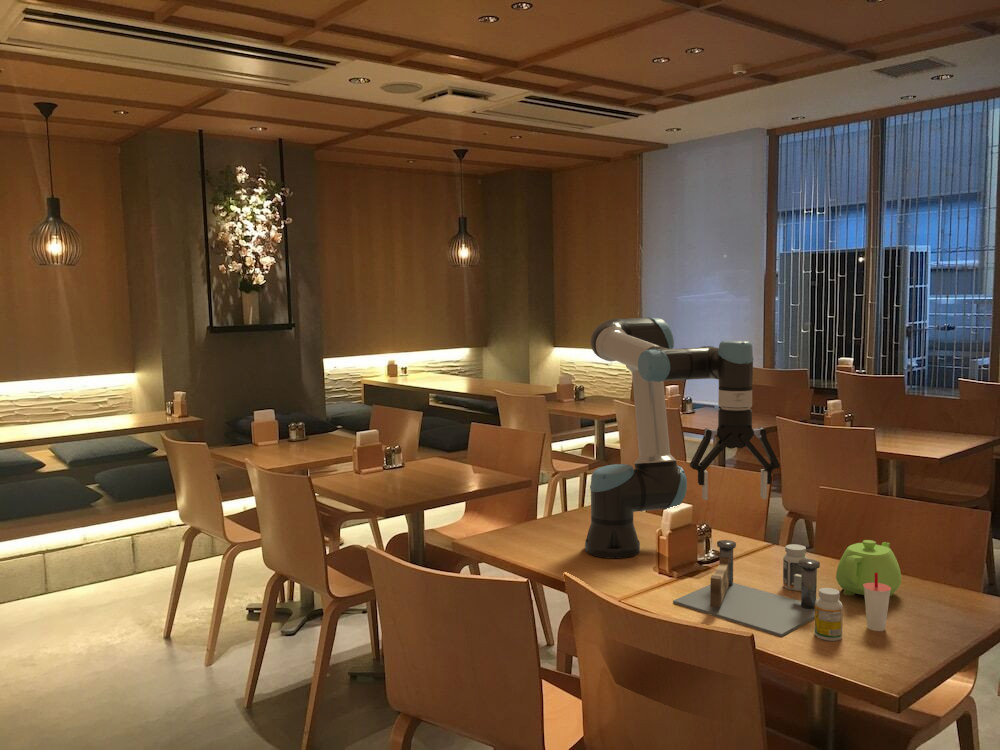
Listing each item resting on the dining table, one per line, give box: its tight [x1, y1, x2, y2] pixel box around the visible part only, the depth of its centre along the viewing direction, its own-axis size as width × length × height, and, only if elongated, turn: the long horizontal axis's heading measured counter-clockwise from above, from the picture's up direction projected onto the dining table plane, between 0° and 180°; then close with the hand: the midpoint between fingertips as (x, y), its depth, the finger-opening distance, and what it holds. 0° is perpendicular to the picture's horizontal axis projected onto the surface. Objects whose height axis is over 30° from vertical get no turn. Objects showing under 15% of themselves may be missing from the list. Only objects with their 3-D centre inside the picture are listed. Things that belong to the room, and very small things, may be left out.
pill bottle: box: [782, 543, 809, 592], centre depth 200 cm, size 6×6×10 cm
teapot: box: [835, 539, 902, 597], centre depth 195 cm, size 20×13×13 cm
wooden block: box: [709, 556, 729, 608], centre depth 192 cm, size 16×2×6 cm, turn 157°
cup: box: [863, 573, 891, 632], centre depth 175 cm, size 5×5×12 cm
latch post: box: [794, 558, 821, 609], centre depth 187 cm, size 6×5×11 cm
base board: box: [672, 582, 815, 638], centre depth 189 cm, size 27×20×1 cm
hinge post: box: [716, 539, 737, 586], centre depth 202 cm, size 4×4×11 cm
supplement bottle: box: [814, 587, 844, 642], centre depth 172 cm, size 5×5×10 cm
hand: (734, 498), depth 195 cm, fingers open, 13 cm apart
